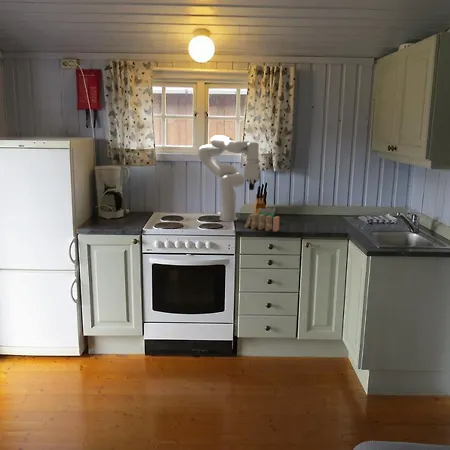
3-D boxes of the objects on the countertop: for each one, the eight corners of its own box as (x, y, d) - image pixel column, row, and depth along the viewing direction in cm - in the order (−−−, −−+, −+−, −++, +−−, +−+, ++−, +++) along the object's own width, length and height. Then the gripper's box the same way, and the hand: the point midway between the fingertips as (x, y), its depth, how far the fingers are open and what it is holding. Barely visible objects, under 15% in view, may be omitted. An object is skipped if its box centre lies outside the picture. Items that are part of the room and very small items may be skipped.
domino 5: (272, 231, 294) (273, 217, 292) (275, 230, 298) (276, 216, 296) (275, 232, 293) (276, 218, 291) (278, 230, 297) (279, 216, 295)
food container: (262, 224, 314) (262, 209, 312) (258, 222, 320) (258, 207, 318) (278, 223, 319) (279, 208, 317) (274, 221, 324) (274, 206, 322)
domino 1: (244, 226, 303) (249, 214, 300) (247, 225, 308) (253, 213, 304) (246, 228, 303) (252, 216, 299) (250, 226, 307) (255, 214, 303)
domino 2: (251, 228, 301) (252, 214, 299) (254, 227, 305) (255, 213, 303) (253, 229, 300) (255, 215, 298) (257, 227, 304) (258, 214, 302)
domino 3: (258, 229, 299) (258, 215, 297) (261, 228, 303) (261, 214, 301) (261, 230, 298) (261, 216, 296) (264, 228, 302) (264, 214, 300)
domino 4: (265, 230, 296) (265, 216, 294) (268, 229, 301) (269, 215, 299) (268, 231, 296) (268, 217, 294) (271, 229, 300) (272, 215, 298)
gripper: (265, 162, 304) (264, 190, 308) (244, 160, 311) (243, 188, 315) (260, 162, 298) (259, 191, 302) (239, 161, 305) (238, 189, 309)
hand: (251, 189), depth 309 cm, fingers closed
